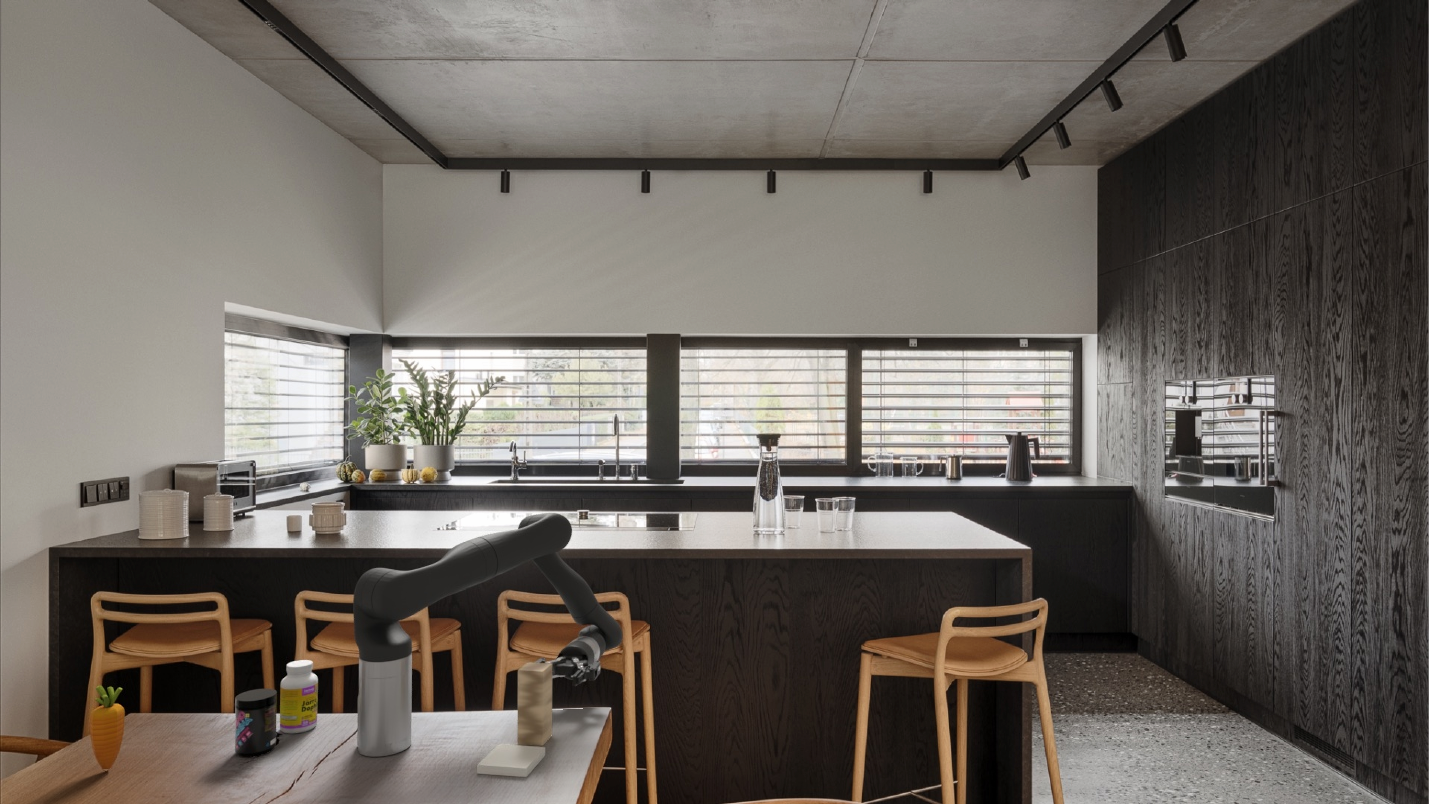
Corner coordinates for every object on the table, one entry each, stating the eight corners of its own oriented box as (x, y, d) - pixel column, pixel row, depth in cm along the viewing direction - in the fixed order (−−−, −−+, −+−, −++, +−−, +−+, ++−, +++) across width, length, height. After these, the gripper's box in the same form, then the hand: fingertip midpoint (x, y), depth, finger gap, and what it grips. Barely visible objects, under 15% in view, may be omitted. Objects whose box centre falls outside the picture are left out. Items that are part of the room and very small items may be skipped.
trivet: (477, 773, 141) (477, 764, 141) (498, 752, 149) (498, 744, 150) (526, 777, 139) (526, 768, 139) (545, 755, 148) (545, 747, 148)
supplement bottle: (301, 736, 157) (302, 669, 157) (271, 733, 158) (272, 667, 158) (324, 723, 163) (325, 659, 163) (296, 720, 165) (296, 657, 165)
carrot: (131, 767, 143) (132, 682, 143) (101, 779, 138) (102, 691, 138) (111, 763, 144) (112, 679, 144) (81, 775, 140) (82, 688, 140)
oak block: (517, 744, 153) (517, 670, 153) (527, 734, 158) (527, 662, 158) (542, 746, 152) (543, 671, 153) (551, 735, 157) (552, 663, 157)
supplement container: (241, 745, 152) (242, 690, 152) (280, 742, 154) (281, 687, 154) (229, 760, 146) (229, 702, 146) (270, 757, 147) (270, 699, 147)
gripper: (549, 638, 183) (521, 660, 167) (609, 641, 181) (587, 663, 165) (548, 672, 183) (520, 696, 167) (609, 675, 181) (587, 700, 164)
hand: (554, 680), depth 166 cm, fingers open, 8 cm apart
